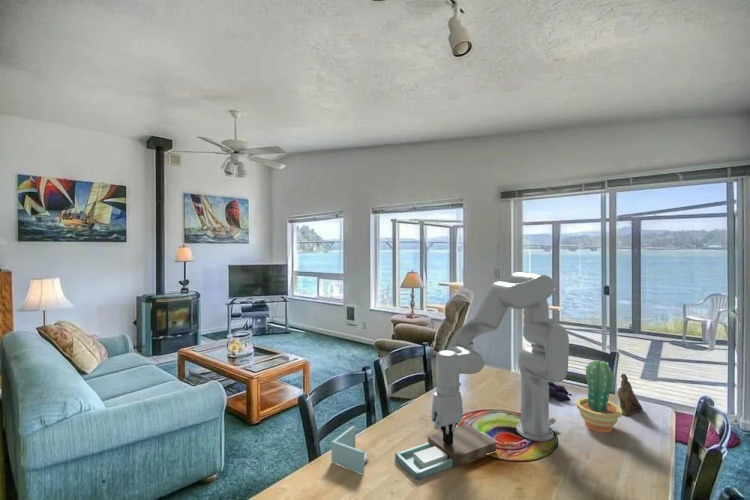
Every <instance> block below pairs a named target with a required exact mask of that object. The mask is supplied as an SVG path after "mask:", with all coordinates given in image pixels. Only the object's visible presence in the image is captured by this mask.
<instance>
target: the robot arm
mask: <svg viewBox="0 0 750 500" xmlns="http://www.w3.org/2000/svg"><path fill="white" fill-rule="evenodd" d="M555 286H556V284H555V281H554V279H552V277H551V276H549V275H547V274H542V273H533V272H524V271H518V272H513V273H512V274H510V276H509V279H508V282H507V281H496V282H495V281H494V283H492V284H491V285H490V286H489V288H488V290H487V292H486V294H485V296H484V298H483V300H482V301H481V304H480V306H479V308H478V309H477V311H476V314H475V315H474V317H472V318H471V319H469V320H467V322H466V323H464V324H463V325H462V326H461V327H460V328H459V329H458V330H457V331H456V332H455V334H454V336H453V337H452V339H451V340H450V342H449V345H448V347H447V349H444V350H439V351H438V352H436V356H435V357H436V358H435V368H436V370H435V372H436V373H435V374H436V376H435V379H436V380H435V382H436V383H435V388H436V390H435V391H436V392H434V393H433V398H432V404H431V421H432V422H433V423H434V425H433V428H434V429H435V430H436V431H441V432H443V442H444V443H446V444H447V445H448V446H450V445H452V444H453V432H454V431H455V428H456V427H457V425H458V424H460V423H462V419H463V415H464V414H463V413H464V412H463V411H464V410H463V409H464V408H463V399H462V394H461V393H462V392H460V387H461V386H462V384H461V382H460V375H462V374H463V375H464V374H465V375H474V374H479V372H481V371H482V370H483V368H484V365H485V361H484V360H485V359H484V358H483V356H482V355H481V354H480V353H479V352H477V351H476V350H473V349H471V348H469V346H470V345H471V343H472V342H473V341H474V340H475V339H476V338H477V337H480V336H482V335H483V334H487V333H491V332H495V331H496V330H498V329H499V327H500V325H501V322H502V321H503V319H504V316H505V315H506V313H507V312H508V309H512V310H513V309H514V310H522V309H523V326H522V327H523V328H522V330H523V332H522V333H523V338H524V340H526V342H528V343H530V344H532V345H534V346H524V348H522V349H521V350H520V351H519V353H518V357H517V358H518V361H517V362H518V366H519V367H518V368H519V372H520V422H518V423H517V424H516V427H515V428H516V432H517V434H519V435H520V436H522V437H524V438H525V439H528V440H530V441H536V442H547V441H550V440H552V439H553V438H554V431H553V430H552V428H551V425H554V424H556V422H557V420H556V418H555V417H551V418H550V416H549V415H550V414H549V413H550V396H549V384H548V382H553V383H554V384H559V383H561V382H563V381H564V380H565V379H566V378H567V375H568V371H569V370H568V369H569V358H570V357H569V354H570V352H569V350H570V337H569V334H568V331H567V329H566V328H565V327H564V326H563V325H561V324H559V323H558V322H557V323H556V322H552V321H550V307H549V302H548V299H549V298H551V297H552V295H553V294H554V291H555V288H556V287H555ZM535 346H538V347H535ZM543 348H544V349H543Z"/></svg>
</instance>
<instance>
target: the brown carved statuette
mask: <svg viewBox="0 0 750 500" xmlns="http://www.w3.org/2000/svg"><path fill="white" fill-rule="evenodd" d="M620 378H621V381H620V387H619V388H618V389H617V397H618V400H619V407H620V408H621V409H622V416H625V417H627V416H631V415H635V414H638V413H639V414H640V413H642V412H643V409H644V408H643V407H642V405H641V403H640V402H639V400H638V398H637V397H636V395H635V393H634V391H633V387H632V384H631V383H630V382H629V381H628V379H629V378H628V376H627V374H625V373H622V374H620Z"/></svg>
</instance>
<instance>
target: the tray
mask: <svg viewBox="0 0 750 500" xmlns="http://www.w3.org/2000/svg"><path fill="white" fill-rule="evenodd" d="M431 447H432V443H431V442H428V441H427V442H424V443H423V444H419V445H417V446H413V447H410V448H407V449H405V450H401V451H398V452H396V453H394V454H395V456H394V459H395V461H396V462H397V463H398V465H400V466H401V467H402V469H404V470H405V471H406V472H407V473H408V474H410V476H411V477H412V478H414V480H415V481H416V482H418V481H420V480H424V479H426V478H428V477H431V476H433V475H436V474H438V473H441V472H443V471H446V470H448V469H451V468H454V467H453V459H451V458H450V459H448V460H445V461H442V462H440V463H437V464H434V465H432V466H429V467H426V468H424V469H423V468H422V467H421V466H420V465H419V464H418V463H417V462H416V461H415V460H414V453H415V452H418V451H421V450H425V449H428V448H431Z"/></svg>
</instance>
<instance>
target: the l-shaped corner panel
mask: <svg viewBox="0 0 750 500" xmlns="http://www.w3.org/2000/svg"><path fill="white" fill-rule="evenodd" d="M330 444H331V463H332V462H334V463H337V464H339V465H341V466H344V467H346V468H349V469H351V470H354V471H357V472H359V473H361V474H363V473H364V474H365V465H364V464H365V462H366V461H367V460H368V461H369V457H368V454H367V452H366V451H364V450H362V449H359V448H355V447H356V426H354V425H351V426H350V427H349V428H347V429H346V430H345V431H344V432H343V433H341V434H340V435H338V436H337V437H336V438H334V439H333V440H332V441H331V443H330ZM341 466H340V467H341ZM346 468H345V469H346ZM351 470H350V471H351ZM354 471H353V472H354ZM359 473H358V474H359ZM361 474H360V475H361ZM364 474H363V475H364Z"/></svg>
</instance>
